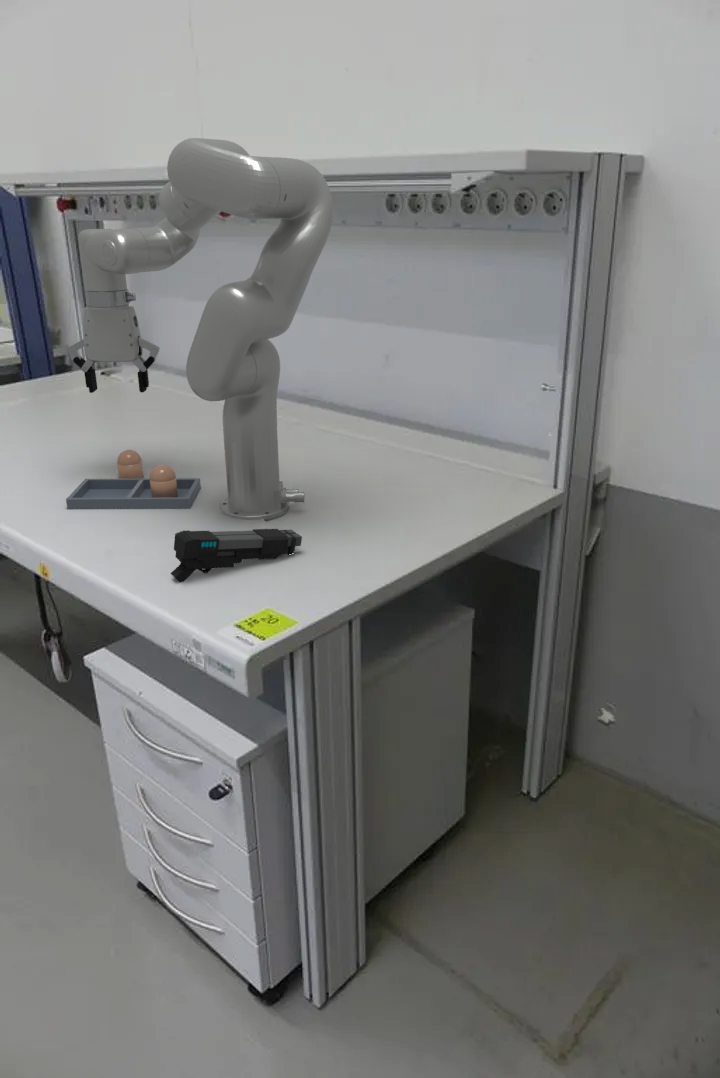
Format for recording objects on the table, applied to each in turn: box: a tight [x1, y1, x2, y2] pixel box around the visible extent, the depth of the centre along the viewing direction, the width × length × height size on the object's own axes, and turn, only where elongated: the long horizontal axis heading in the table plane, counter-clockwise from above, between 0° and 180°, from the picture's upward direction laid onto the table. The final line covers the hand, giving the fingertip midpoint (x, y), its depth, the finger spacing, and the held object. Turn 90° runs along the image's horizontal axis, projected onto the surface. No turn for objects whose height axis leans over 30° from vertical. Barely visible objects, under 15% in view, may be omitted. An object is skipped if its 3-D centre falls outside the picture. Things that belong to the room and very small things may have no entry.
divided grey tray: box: [65, 477, 202, 510], centre depth 153 cm, size 22×12×2 cm, turn 90°
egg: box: [116, 449, 145, 479], centre depth 163 cm, size 5×5×6 cm
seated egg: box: [149, 464, 178, 498], centre depth 152 cm, size 5×5×6 cm
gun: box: [170, 528, 303, 583], centre depth 126 cm, size 4×20×10 cm, turn 123°
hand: (118, 391), depth 157 cm, fingers open, 9 cm apart
